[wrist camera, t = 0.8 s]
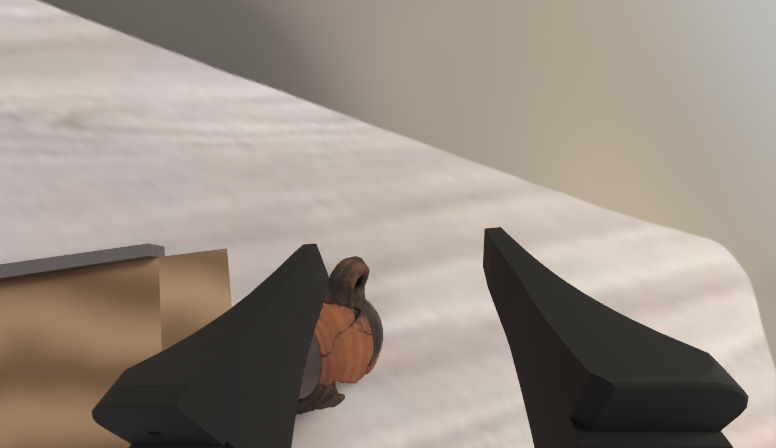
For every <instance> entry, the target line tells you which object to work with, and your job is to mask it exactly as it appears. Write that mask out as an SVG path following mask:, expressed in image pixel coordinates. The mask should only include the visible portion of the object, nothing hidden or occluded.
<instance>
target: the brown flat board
mask: <svg viewBox="0 0 776 448" xmlns="http://www.w3.org/2000/svg"><path fill="white" fill-rule="evenodd" d="M229 309H231V295H230V282H229V269H228V257H227V249H220V250H212V251H204V252H196V253H188V254H180V255H172V256H164V257H157V258H150V259H143V260H137V261H130V262H123V263H117V264H110V265H104V266H97V267H90V268H84V269H77V270H70V271H64V272H57V273H50V274H44V275H37V276H31V277H24V278H17V279H11V280H4V281H0V448H129V447H130V445H131V444H130V443H128V442H127V441H125V440H123V439H122V438H120V437H118V436H116V435H115V434H113V433H111V432H110V431H108V430H106V429H104V428H103V427H101V426H100V425H99V424H97V423H96V422H95V421H94V420H93V418H92V412H91V411H92V410H93V408H94V407H95V406H96V405H97V403H98V402H99V401H100V400H101V399H102V397H103V396H104V395H105V394H106V392H107V391H108V390H109V389H110V388H111V386H112V385H113V384H114V383H115V381H116V380H117V379H118V378H119V377H120V375H121V374H122V373H123V372H124V371H125V370H126V369H128V368H130V367H132V366H134V365H136V364H138V363H140V362H142V361H144V360H146V359H148V358H150V357H152V356H154V355H156V354H158V353H159V352H161V351H163V350H165V349H167V348H169V347H171V346H172V345H174V344H176V343H178V342H179V341H181V340H183V339H185V338H186V337H188V336H190V335H191V334H193V333H195V332H196V331H198V330H200V329H201V328H203V327H204V326H206V325H207V324H209V323H210V322H212V321H213V320H215V319H216V318H218V317H219V316H221V315H222V314H224V313H225V312H226V311H228V310H229Z"/></svg>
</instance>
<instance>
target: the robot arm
mask: <svg viewBox="0 0 776 448" xmlns="http://www.w3.org/2000/svg"><path fill="white" fill-rule="evenodd" d="M483 268H484V272H485V277H486V281H487V285H488V289H489V291H490V294H491V297H492V299H493V302H494V305H495V307H496V310H497V313H498V315H499V318H500V321H501V323H502V326H503V329H504V331H505V334H506V337H507V340H508V343H509V346H510V349H511V353H512V357H513V360H514V364H515V368H516V372H517V375H518V379H519V383H520V387H521V391H522V395H523V399H524V403H525V408H526V412H527V416H528V420H529V425H530V429H531V433H532V438H533V442H534V447H535V448H733V447H732V445H731V444H730V442H729V441H728V440H727V439H726V437H725V436H724V435H723V433H722V432H721V430H722V429H723V428H724V427H726V426H727V425H728V424H729V423H731V422H732V421H733V420H734V419H735V418H737V417H738V416H739V415H740V414H741V413H742V412H743V411H744V410H745V409H746V408H747V403H748V395H747V394H746V393H745V391H744V390H743V389H742V388H741V387H740V386H739V384H738V383H737V382H736V381H735V380H734V379H733V378H732V377H731V376H730V375H729V374H728V373H727V371H726V370H725V369H724V368H723V367H722V366H721V365H720V364H719V363H718V362H717V361H716V360H715V359H714V358H713V357H712V356H711V355H710V354H709V353H707V352H704V351H702V350H700V349H697V348H695V347H692V346H690V345H688V344H685V343H683V342H681V341H678V340H676V339H673V338H671V337H669V336H666V335H664V334H662V333H659V332H657V331H655V330H653V329H651V328H649V327H647V326H644V325H642V324H640V323H638V322H636V321H634V320H632V319H630V318H628V317H626V316H624V315H622V314H620V313H618V312H616V311H614V310H612V309H611V308H609V307H607V306H605V305H603V304H602V303H600V302H598V301H596V300H594V299H593V298H591V297H589V296H588V295H586V294H584V293H583V292H581V291H580V290H578V289H576V288H575V287H573V286H572V285H570V284H569V283H567V282H566V281H564V280H563V279H561V278H560V277H558V276H557V275H556V274H554V273H553V272H552V271H550V270H549V269H548V268H546V267H545V266H544V265H543V264H541V263H540V262H539V261H538V260H536V259H535V258H534V257H533V256H532V255H531V254H529V253H528V252H527V251H526V250H525V249H524V248H522V247H521V246H520V245H519V244H518V243H517V242H516V241H515V240H514V239H513V238H512V237H511V236H509V235H508V234H507V233H506V232H505V231H504V230H503V229H502V228H501V227H498V228H487V229H485V234H484V256H483ZM328 279H329V276H328V273H327V271H326V268H325V265H324V263H323V260H322V257H321V255H320V252H319V250H318V247H317V244H305V245H302V246H301V247H300V248H299V249H298V250H297V251H296V252H294V253H293V254H292V255H291V256H290V257H289V258H288V259H287V260H286V261H285V262H284V263H283V264H282V265H281V266H280V267H279V268H278V269H277V270H276V271H275V272H274V273H272V274H271V275H270V276H269V277H268V278H267V279H266V280H265V281H264V282H262V283H261V284H260V285H259V286H258V287H257V288H256V289H254V290H253V291H252V292H251V293H250V294H249V295H247V296H246V297H245V298H244V299H242V300H241V301H240V302H239V303H237V304H236V305H235V306H233V307H232V308H231V309H229V310H228V311H226V312H225V313H224V314H222V315H221V316H219V317H218V318H216V319H215V320H213V321H212V322H210V323H209V324H207V325H206V326H204V327H203V328H201V329H200V330H198V331H196V332H195V333H193V334H191V335H190V336H188V337H186V338H185V339H183V340H181V341H179V342H178V343H176V344H174V345H172V346H171V347H169V348H167V349H165V350H163V351H161V352H159V353H158V354H156V355H154V356H152V357H150V358H148V359H146V360H144V361H142V362H140V363H138V364H136V365H134V366H132V367H130V368H128V369H126V370H125V371H124V372H123V373H122V374H121V375H120V377H119V378H118V379H117V380H116V381H115V383H114V384H113V385H112V386H111V388H110V389H109V390H108V391H107V392H106V394H105V395H104V396H103V397H102V399H101V400H100V401H99V402H98V403H97V405H96V406H95V407H94V408H93V410H92V411H91V412H92V418H93V420H94V421H95V422H96V423H97V424H99V425H100V426H101V427H103V428H104V429H106V430H108V431H110V432H111V433H113V434H115V435H116V436H118V437H120V438H122V439H123V440H125V441H127V442H128V443H130V444H131V445H130V447H129V448H291V445H292V437H293V429H294V423H295V417H296V411H297V404H298V398H299V393H300V388H301V383H302V377H303V372H304V368H305V363H306V359H307V354H308V350H309V347H310V343H311V340H312V337H313V334H314V331H315V328H316V325H317V322H318V319H319V316H320V313H321V309H322V306H323V303H324V300H325V296H326V291H327V285H328Z"/></svg>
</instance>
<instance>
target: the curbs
mask: <svg viewBox="0 0 776 448" xmlns="http://www.w3.org/2000/svg"><path fill="white" fill-rule="evenodd" d="M157 257H164V247H163V246H158V245H153V244H142V245H135V246H128V247H121V248H114V249H107V250H100V251H93V252H86V253H79V254H72V255H65V256H58V257H50V258H43V259H36V260H29V261H22V262H15V263H8V264H1V265H0V281H4V280H11V279H17V278H24V277H31V276H37V275H44V274H50V273H57V272H64V271H70V270H77V269H84V268H90V267H97V266H104V265H110V264H117V263H123V262H130V261H137V260H143V259H150V258H157Z"/></svg>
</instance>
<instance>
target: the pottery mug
mask: <svg viewBox="0 0 776 448" xmlns="http://www.w3.org/2000/svg"><path fill="white" fill-rule="evenodd" d="M368 275H369V268H368V266H367V265H366V264H365V262H364V261H363V259H362V258H360V257H357V256H354V257H351V258H346V259H344V260H342V261H341V262H340V263H339V264H338V265H337V266H336V267H335V269H334V270H333V271H332V273H331V275H330V277H329V279H328V285H327V291H326V296H325V300H324V303H323V306H322V309H321V313H320V316H319V319H318V322H317V325H316V328H315V331H314V336H315V338H316V341H317V343H318V346H319V350H320V354H321V370H320V376H319V380H318V384H317V386H316V387H315V389H314V390H313V392H312V393H311V394H310V395H308V396H307V397H305V398H301V399H298V404H297V411H296V414H302V413H306V412H308V411H314V410H315V409H317V410H319V409H324V408H328V407H335V406H336V405H338V404H340V403H341V402H342V401H343V400H344V398H345V395H343V394H339V393H338V391H337V389H336V385H335V381H339V382H342V383H344V382H346V383H357V382H358V380H360V379H361V378H362V377H363V376H364V375H365V374H368V373H369V372H370V371H371V370H372V369H373V368H374V366H375V364H376V361H377V359H378V357H379V353H380V350H381V347H382V341H383V328H382V324H381V320H380V317H379V315H378V313H377V311H376V310H375V309H374V307H373V306H372V305H371V303H370V302H369V301H367V300H366V299H365V293H364V290H365V284H366V281H367V279H368ZM352 308H354V309H356V310H358V311H359V313H358V315H357V316H356V318H355V314H354V311H353V310H352Z"/></svg>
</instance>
